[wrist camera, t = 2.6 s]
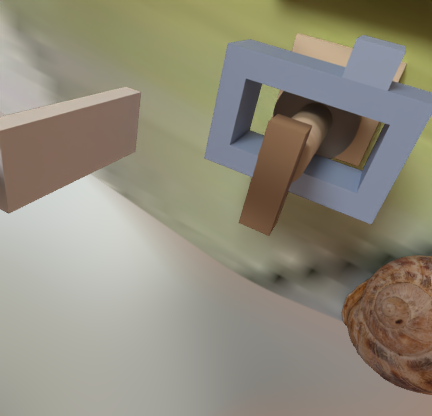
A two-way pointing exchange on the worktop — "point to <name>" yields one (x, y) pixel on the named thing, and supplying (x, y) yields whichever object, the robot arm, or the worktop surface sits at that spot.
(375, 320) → the seashell
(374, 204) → the ring
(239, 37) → the worktop surface
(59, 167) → the robot arm
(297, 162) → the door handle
